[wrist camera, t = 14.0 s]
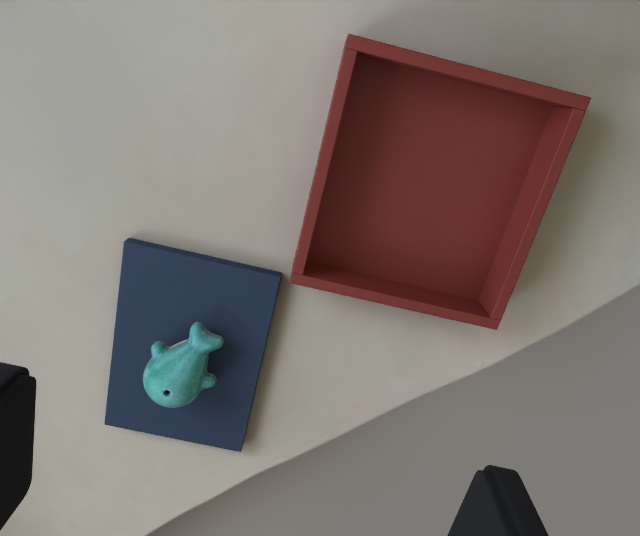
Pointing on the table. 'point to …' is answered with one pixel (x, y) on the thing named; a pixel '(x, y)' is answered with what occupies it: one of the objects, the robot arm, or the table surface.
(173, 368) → the whale figurine
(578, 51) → the table surface
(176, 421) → the play mat
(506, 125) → the bin
